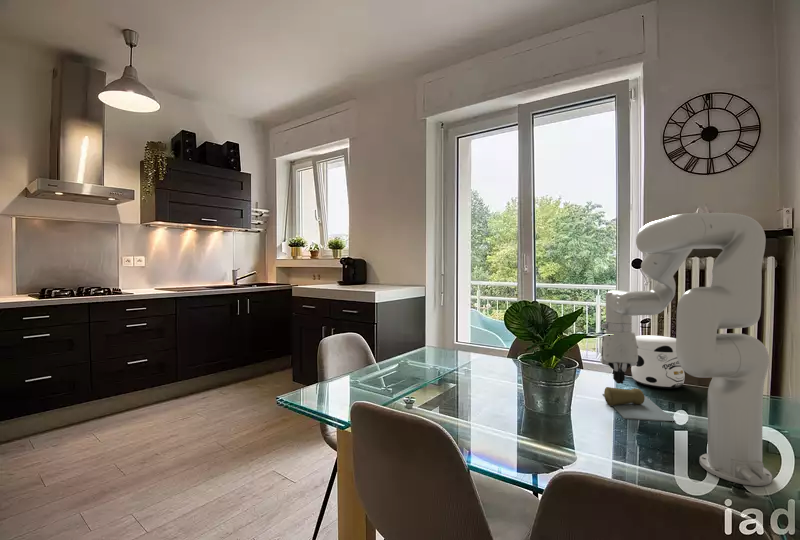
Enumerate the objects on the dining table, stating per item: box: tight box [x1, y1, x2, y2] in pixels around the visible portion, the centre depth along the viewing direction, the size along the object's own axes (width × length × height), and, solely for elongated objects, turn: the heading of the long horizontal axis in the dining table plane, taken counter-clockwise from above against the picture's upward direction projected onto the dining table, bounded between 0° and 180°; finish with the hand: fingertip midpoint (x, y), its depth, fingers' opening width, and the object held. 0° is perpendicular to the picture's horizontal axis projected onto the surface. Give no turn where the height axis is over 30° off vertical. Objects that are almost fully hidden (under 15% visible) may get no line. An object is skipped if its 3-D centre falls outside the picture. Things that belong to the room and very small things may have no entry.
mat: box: [602, 393, 676, 423], centre depth 129 cm, size 22×14×1 cm, turn 168°
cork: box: [603, 386, 645, 407], centre depth 131 cm, size 6×6×11 cm
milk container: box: [630, 334, 686, 389], centre depth 152 cm, size 17×17×18 cm
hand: (618, 382), depth 130 cm, fingers closed
